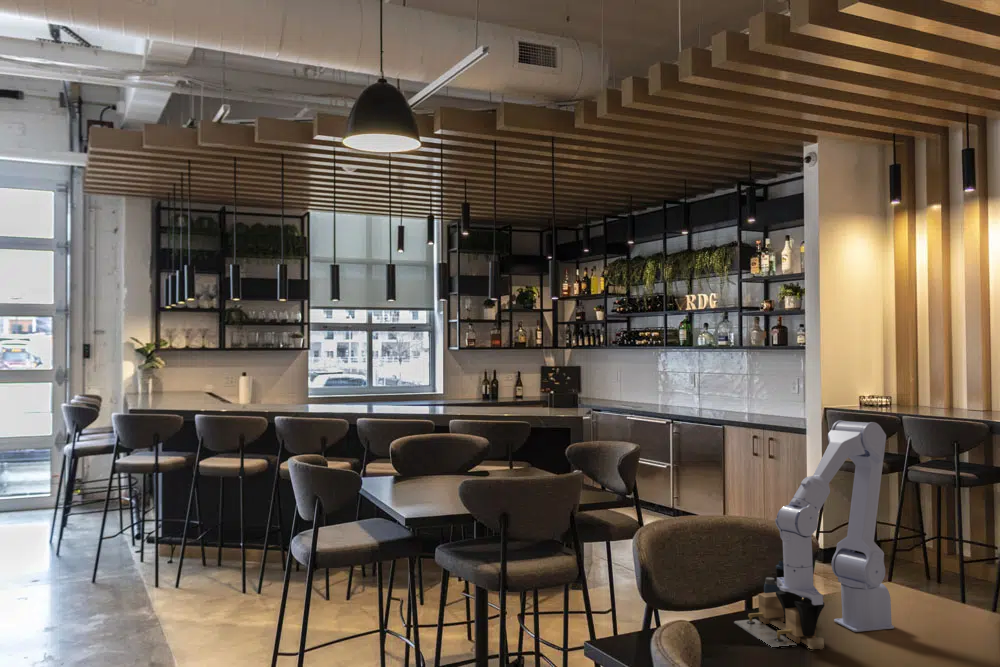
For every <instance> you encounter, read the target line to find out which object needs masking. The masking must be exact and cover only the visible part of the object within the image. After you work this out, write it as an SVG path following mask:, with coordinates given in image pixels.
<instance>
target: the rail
mask: <svg viewBox="0 0 1000 667" xmlns="http://www.w3.org/2000/svg"><path fill="white" fill-rule="evenodd" d="M768 619H769V623H770V624H772V625H774V626H776V627H778V628H779V629H781V630H786V623H783V622H781V621H779V620H777V619H776V618H768ZM770 624H769V625H770ZM772 625H771V626H772ZM774 626H773V627H774ZM799 637H800V642H802V643H804V644H806V645H807V646H808V647H807V646H806V647H807V649H808V648H810V649H817V648H824V649H825V639H824V638H823V637H822V636H821V637H820V636H819V637H816V638H808V637H807V636H799ZM802 643H801V644H802Z"/></svg>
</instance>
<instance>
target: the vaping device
mask: <svg viewBox="0 0 1000 667" xmlns="http://www.w3.org/2000/svg"><path fill="white" fill-rule="evenodd" d="M775 572H776V573H775V575H776V578H774V577H772V576H771V577H770V576H767V577H765V581H764V585H763V593H773V592H777V591H781V590H780V588H779V587H777V581H776V580H777V578H779V577H784V562H783V560H779V561H778V564H776V565H775ZM775 579H776V580H775ZM784 615H785V614H784Z"/></svg>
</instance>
